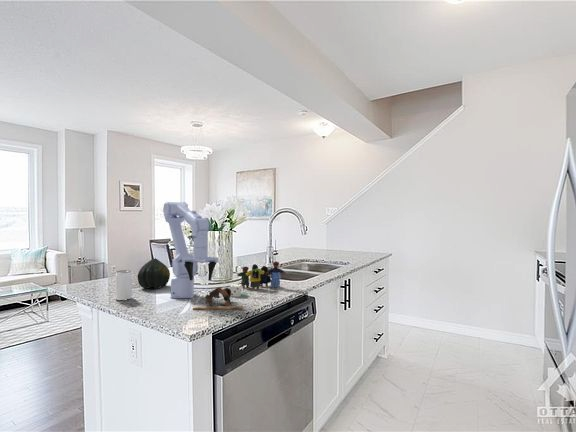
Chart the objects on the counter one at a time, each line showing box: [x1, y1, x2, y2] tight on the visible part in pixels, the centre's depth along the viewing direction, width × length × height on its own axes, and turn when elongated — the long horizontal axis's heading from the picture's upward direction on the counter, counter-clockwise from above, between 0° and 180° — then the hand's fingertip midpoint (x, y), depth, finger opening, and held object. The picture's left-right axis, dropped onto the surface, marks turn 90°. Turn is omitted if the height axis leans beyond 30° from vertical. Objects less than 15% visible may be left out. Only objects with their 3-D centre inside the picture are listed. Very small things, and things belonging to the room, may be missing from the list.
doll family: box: [236, 261, 287, 290], centre depth 161 cm, size 23×9×13 cm, turn 118°
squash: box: [137, 257, 171, 290], centre depth 163 cm, size 14×15×15 cm
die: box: [229, 283, 242, 298], centre depth 146 cm, size 5×5×5 cm
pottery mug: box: [204, 286, 232, 306], centre depth 133 cm, size 12×10×8 cm
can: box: [114, 269, 133, 301], centre depth 141 cm, size 6×6×12 cm
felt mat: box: [239, 292, 249, 298], centre depth 147 cm, size 7×7×1 cm
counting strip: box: [192, 305, 244, 311], centre depth 126 cm, size 19×2×1 cm, turn 90°
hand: (200, 279), depth 135 cm, fingers open, 7 cm apart
